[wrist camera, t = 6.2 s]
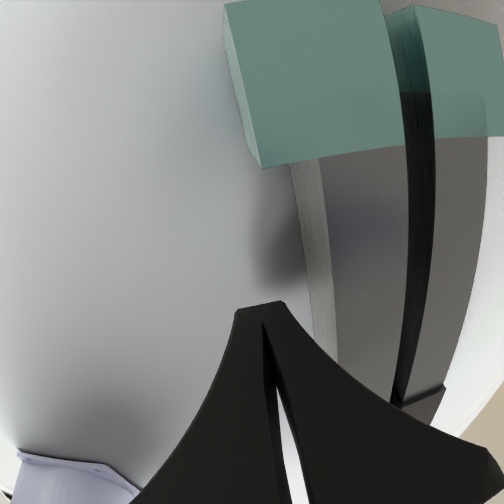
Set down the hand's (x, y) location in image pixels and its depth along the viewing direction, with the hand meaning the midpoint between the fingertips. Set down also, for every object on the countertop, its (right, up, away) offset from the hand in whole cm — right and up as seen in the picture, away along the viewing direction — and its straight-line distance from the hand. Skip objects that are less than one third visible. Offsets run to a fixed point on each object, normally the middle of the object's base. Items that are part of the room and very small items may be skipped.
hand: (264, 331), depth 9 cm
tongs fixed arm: (+6, +1, +2) cm, 6 cm away
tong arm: (+3, -2, +3) cm, 4 cm away
